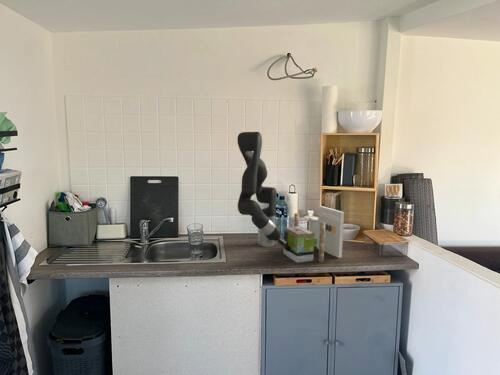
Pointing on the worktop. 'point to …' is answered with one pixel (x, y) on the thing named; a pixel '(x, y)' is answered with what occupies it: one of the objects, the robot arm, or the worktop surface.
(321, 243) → the right post
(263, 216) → the robot arm
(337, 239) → the breaker panel
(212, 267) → the worktop surface
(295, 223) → the left post
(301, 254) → the tea box
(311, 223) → the skincare box
